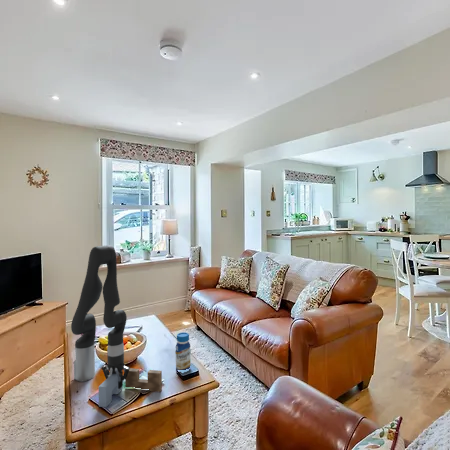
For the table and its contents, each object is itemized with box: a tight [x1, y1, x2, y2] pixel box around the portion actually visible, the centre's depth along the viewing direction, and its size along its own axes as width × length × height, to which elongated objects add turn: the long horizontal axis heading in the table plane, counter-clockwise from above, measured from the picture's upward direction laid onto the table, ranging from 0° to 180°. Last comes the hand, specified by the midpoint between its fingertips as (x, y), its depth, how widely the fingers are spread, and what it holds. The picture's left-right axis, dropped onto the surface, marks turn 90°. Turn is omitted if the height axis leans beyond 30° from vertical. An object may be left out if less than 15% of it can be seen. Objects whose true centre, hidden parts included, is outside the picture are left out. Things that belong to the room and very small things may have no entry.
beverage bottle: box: [175, 331, 192, 371], centre depth 159 cm, size 8×8×20 cm
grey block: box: [98, 373, 123, 408], centre depth 135 cm, size 4×14×9 cm, turn 170°
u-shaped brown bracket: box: [124, 367, 163, 393], centre depth 142 cm, size 18×2×9 cm, turn 81°
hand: (116, 387), depth 140 cm, fingers closed on grey block, 3 cm apart
